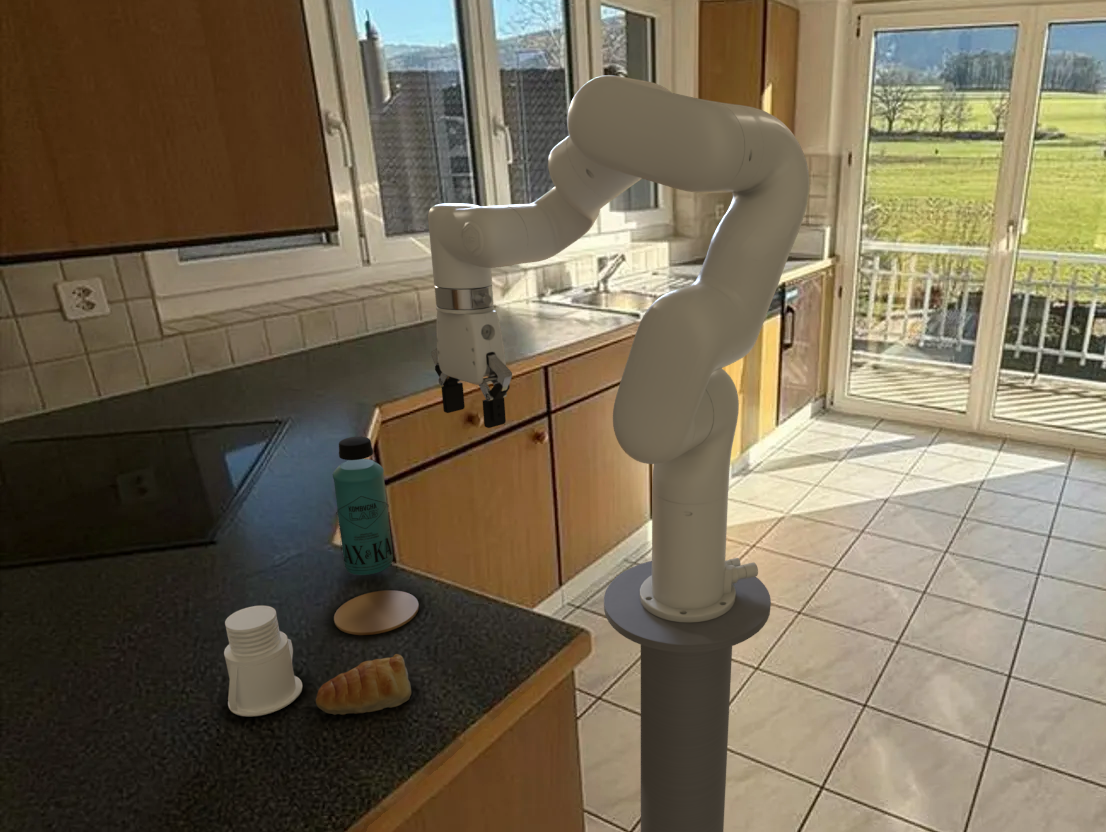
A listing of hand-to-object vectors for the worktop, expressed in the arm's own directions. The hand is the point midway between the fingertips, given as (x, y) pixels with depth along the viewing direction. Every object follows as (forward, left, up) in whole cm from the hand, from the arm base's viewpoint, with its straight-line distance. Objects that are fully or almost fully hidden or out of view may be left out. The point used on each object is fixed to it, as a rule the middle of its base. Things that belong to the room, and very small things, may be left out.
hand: (474, 418), depth 113 cm
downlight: (+28, +27, -20) cm, 44 cm away
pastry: (+18, +32, -20) cm, 42 cm away
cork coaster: (+16, +14, -20) cm, 30 cm away
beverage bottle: (+16, +3, -20) cm, 26 cm away
